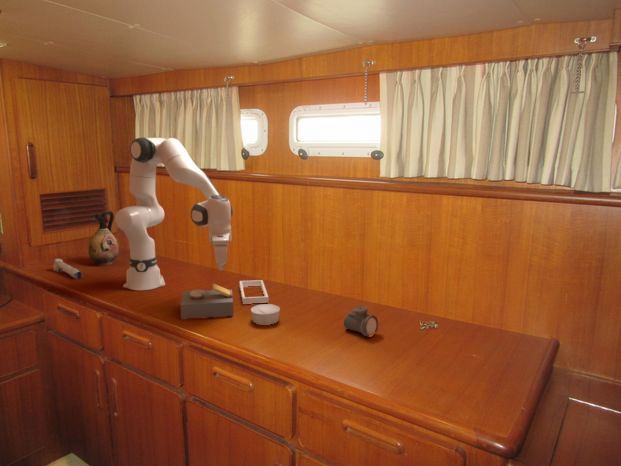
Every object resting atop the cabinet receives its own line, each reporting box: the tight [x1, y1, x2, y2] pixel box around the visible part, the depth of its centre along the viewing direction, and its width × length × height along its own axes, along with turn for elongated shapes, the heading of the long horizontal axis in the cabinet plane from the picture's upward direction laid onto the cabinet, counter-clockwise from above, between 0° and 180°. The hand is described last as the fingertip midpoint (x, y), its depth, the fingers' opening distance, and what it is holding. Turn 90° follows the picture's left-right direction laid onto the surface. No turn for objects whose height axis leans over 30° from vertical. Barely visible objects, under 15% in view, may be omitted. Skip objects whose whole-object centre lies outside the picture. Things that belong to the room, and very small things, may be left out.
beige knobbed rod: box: [52, 258, 83, 280], centre depth 227 cm, size 5×7×25 cm
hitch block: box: [180, 289, 234, 320], centre depth 181 cm, size 16×20×6 cm
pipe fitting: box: [343, 305, 379, 338], centre depth 162 cm, size 12×8×10 cm
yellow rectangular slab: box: [211, 283, 234, 298], centre depth 181 cm, size 6×9×1 cm
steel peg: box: [190, 288, 205, 299], centre depth 180 cm, size 6×6×8 cm
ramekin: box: [250, 303, 281, 326], centre depth 171 cm, size 11×11×5 cm
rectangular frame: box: [239, 279, 269, 305], centre depth 201 cm, size 25×11×3 cm, turn 12°
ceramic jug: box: [88, 210, 120, 267], centre depth 246 cm, size 17×15×30 cm
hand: (221, 269), depth 179 cm, fingers closed
